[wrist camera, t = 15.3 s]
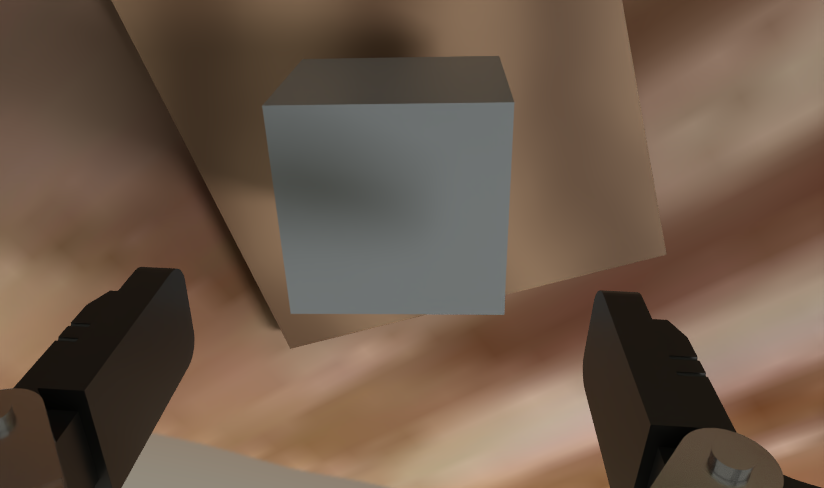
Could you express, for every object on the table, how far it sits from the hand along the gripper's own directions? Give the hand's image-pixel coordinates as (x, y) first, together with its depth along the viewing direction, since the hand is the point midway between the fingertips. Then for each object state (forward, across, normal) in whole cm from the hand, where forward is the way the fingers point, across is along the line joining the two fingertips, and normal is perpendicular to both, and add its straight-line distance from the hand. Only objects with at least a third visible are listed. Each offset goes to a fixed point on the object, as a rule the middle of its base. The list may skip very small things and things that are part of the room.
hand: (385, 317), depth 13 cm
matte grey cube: (+10, 0, 0) cm, 10 cm away
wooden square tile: (+13, 0, 0) cm, 13 cm away
